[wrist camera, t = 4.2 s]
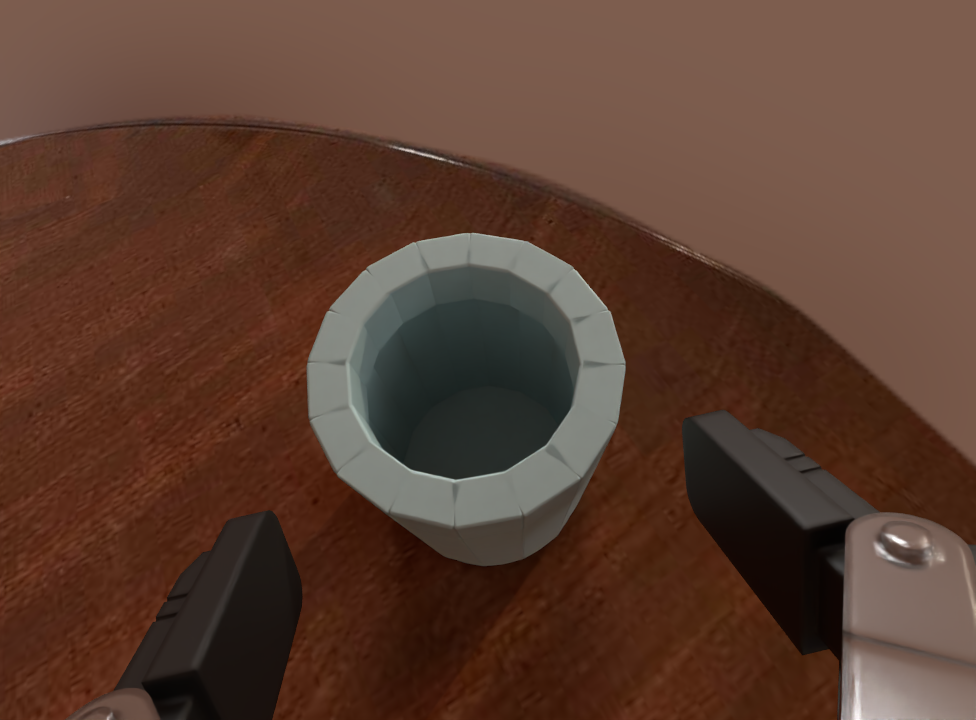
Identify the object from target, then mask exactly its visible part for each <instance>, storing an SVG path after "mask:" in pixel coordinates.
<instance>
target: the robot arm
mask: <svg viewBox="0 0 976 720" xmlns="http://www.w3.org/2000/svg"><path fill="white" fill-rule="evenodd" d="M682 434H683V448H684V461H685V475H686V487H687V493H688V497H689V500H690V503H691V506H692V508H693V511H694V513H695V514H696V516H697V518H698V519H699V521H700V522H701V523H702V525H703V526H704V527H705V528H706V530H707V531H708V532H709V534H710V535H711V536H712V538H713V539H714V540H715V542H716V543H717V544H718V545H719V547H720V548H721V549H722V551H723V552H724V553H725V555H726V556H727V557H728V559H729V560H730V561H731V563H732V564H733V565H734V566H735V568H736V569H737V570H738V572H739V573H740V574H741V576H742V577H743V578H744V580H745V581H746V582H747V584H748V585H749V586H750V587H751V589H752V590H753V591H754V593H755V594H756V595H757V597H758V598H759V599H760V601H761V602H762V603H763V604H764V606H765V607H766V608H767V610H768V611H769V612H770V614H771V615H772V616H773V618H774V619H775V620H776V622H777V623H778V624H779V625H780V627H781V628H782V629H783V631H784V632H785V633H786V635H787V636H788V637H789V639H790V640H791V641H792V642H793V644H794V645H795V646H796V648H797V649H798V650H799V652H800V653H801V654H802V655H806V654H810V653H814V652H818V651H822V650H826V649H830V650H831V651H832V653H833V654H834V655H835V656H836V657H837V659H838V660H839V682H838V712H837V720H976V545H967V544H966V543H965V542H964V541H963V540H962V539H961V538H960V537H959V536H957V535H956V534H955V533H953V532H952V531H950V530H948V529H947V528H945V527H943V526H941V525H939V524H937V523H935V522H932V521H929V520H927V519H924V518H920V517H916V516H912V515H907V514H901V513H880V512H879V511H878V510H876V509H875V508H874V507H872V506H871V505H870V504H869V503H867V502H866V501H865V500H863V499H862V498H861V497H860V496H858V495H857V494H856V493H854V492H853V491H852V490H851V489H849V488H848V487H847V486H845V485H844V484H843V483H842V482H840V481H839V480H838V479H836V478H835V477H834V476H833V475H831V474H830V473H829V472H827V471H826V470H822V469H821V466H820V465H818V464H817V463H816V462H814V461H813V460H812V459H811V458H809V457H805V454H804V453H803V452H802V451H800V450H799V449H798V448H796V447H795V446H794V445H793V444H791V443H790V442H789V441H787V440H786V439H785V438H782V437H779V436H777V435H774V434H772V433H769V432H766V431H764V430H761V429H759V428H758V429H753V430H749V429H748V428H746V427H745V426H744V425H743V424H742V423H740V422H739V421H738V420H737V419H736V418H734V417H733V416H732V415H731V414H730V413H728V412H727V411H725V410H720V411H715V412H711V413H706V414H702V415H698V416H693V417H689V418H685V419H684V421H683V425H682ZM301 608H302V585H301V579H300V575H299V573H298V570H297V567H296V565H295V562H294V559H293V557H292V554H291V552H290V549H289V547H288V544H287V541H286V539H285V536H284V534H283V531H282V528H281V526H280V523H279V521H278V518H277V517H276V515H275V514H274V513H273V512H272V511H270V510H268V511H264V512H259V513H255V514H250V515H246V516H241V517H237V518H232V519H229V520H228V521H227V522H226V524H225V525H224V527H223V529H222V531H221V533H220V535H219V536H218V538H217V540H216V542H215V544H214V546H213V548H212V550H211V551H207V552H203V553H202V554H201V555H200V556H199V557H198V558H197V559H196V560H195V561H194V562H193V563H192V564H191V565H190V566H189V567H188V568H187V569H186V570H185V571H184V572H182V573H181V574H180V576H179V578H178V580H177V581H176V583H175V585H174V586H173V588H172V590H171V592H170V593H169V595H168V597H167V602H164V604H163V606H162V607H161V609H160V611H159V613H158V614H157V616H156V622H153V623H152V625H151V626H150V628H149V630H148V632H147V633H146V635H145V637H144V639H143V640H142V642H141V644H140V646H139V647H138V649H137V651H136V653H135V654H134V656H133V658H132V660H131V661H130V663H129V665H128V666H127V668H126V670H125V672H124V673H123V675H122V677H121V679H120V680H119V682H118V684H117V686H116V687H115V689H114V691H112V692H110V693H107V694H104V695H102V696H100V697H98V698H96V699H94V700H92V701H91V702H89V703H87V704H86V705H84V706H83V707H81V708H80V709H78V710H77V711H75V712H74V713H73V714H72V715H70V716H69V717H68V718H67V719H65V720H272V718H273V714H274V710H275V707H276V703H277V699H278V695H279V692H280V688H281V684H282V680H283V676H284V673H285V669H286V665H287V661H288V658H289V654H290V650H291V646H292V642H293V639H294V635H295V631H296V627H297V623H298V620H299V616H300V612H301Z"/></svg>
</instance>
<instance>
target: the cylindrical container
mask: <svg viewBox="0 0 976 720" xmlns="http://www.w3.org/2000/svg"><path fill="white" fill-rule="evenodd" d="M625 369H626V368H625V360H624V357H623V353H622V350H621V346H620V343H619V340H618V336H617V333H616V329H615V326H614V322H613V319H612V316H611V312H610V311H608V309H607V307H606V306H605V305H604V304H603V302H602V301H601V300H600V299H599V298H598V296H597V295H596V294H595V293H594V292H593V290H592V289H591V288H590V287H589V286H588V284H587V283H586V282H585V281H584V280H583V278H582V277H581V276H580V275H579V274H578V272H577V271H576V270H574V269H573V267H572V266H571V265H569V264H567V263H565V262H564V261H562V260H560V259H558V258H556V257H554V256H553V255H551V254H549V253H547V252H545V251H543V250H542V249H540V248H538V247H536V246H534V245H532V244H531V243H529V242H527V241H525V242H524V241H521V240H515V239H509V238H502V237H496V236H489V235H483V234H477V233H471V234H469V233H464V234H458V235H452V236H447V237H441V238H435V239H429V240H423V241H418V242H416V243H411V244H409V245H408V246H406V247H404V248H402V249H400V250H398V251H396V252H394V253H393V254H391V255H389V256H387V257H385V258H383V259H381V260H380V261H378V262H376V263H374V264H372V265H370V266H368V267H367V268H366V271H363V272H362V273H361V274H360V275H359V276H358V278H357V279H356V280H355V281H354V282H353V283H352V284H351V285H350V286H349V287H348V288H347V290H346V291H345V292H344V293H343V294H342V295H341V296H340V297H339V298H338V299H337V300H336V302H335V303H334V304H333V305H332V306H331V307H330V309H329V311H328V312H327V313H326V315H325V317H324V320H323V322H322V325H321V328H320V330H319V333H318V335H317V338H316V340H315V343H314V345H313V348H312V351H311V353H310V356H309V358H308V364H307V392H308V418H309V420H310V425H311V427H312V429H313V431H314V433H315V435H316V437H317V439H318V441H319V443H320V445H321V447H322V449H323V451H324V453H325V455H326V457H327V459H328V461H329V463H330V465H331V467H332V469H333V471H334V472H335V473H336V474H337V476H338V477H339V478H340V479H341V480H342V481H344V482H345V483H346V484H348V485H349V486H350V487H351V488H353V489H354V490H355V491H357V492H358V493H359V494H361V495H362V496H363V497H364V498H366V499H367V500H368V501H370V502H371V503H372V504H374V505H375V506H376V507H377V508H379V509H380V510H381V511H383V512H384V513H385V514H387V515H388V516H389V517H391V518H392V519H393V520H395V521H396V522H397V523H399V524H400V525H402V526H403V527H404V528H406V529H407V530H408V531H410V532H411V533H412V534H414V535H415V536H417V537H418V538H419V539H421V540H422V541H423V542H425V543H426V544H427V545H429V546H430V547H432V548H433V549H434V550H436V551H437V552H438V553H440V554H441V555H443V556H445V557H446V558H450V559H454V560H457V561H461V562H464V563H468V564H474V565H479V566H492V565H501V564H507V563H511V562H515V561H518V560H522V559H524V558H526V557H528V556H530V555H531V554H533V553H535V552H537V551H538V550H540V549H541V548H542V547H544V546H545V545H546V544H548V543H549V542H550V541H551V540H553V539H554V538H556V536H558V534H559V533H560V531H561V529H562V528H563V526H564V525H565V524H566V522H567V520H568V519H569V517H570V515H571V514H572V512H573V511H574V509H575V508H576V506H577V504H578V502H579V500H580V498H581V496H582V494H583V492H584V490H585V488H586V486H587V484H588V482H589V480H590V478H591V476H592V474H593V472H594V470H595V468H596V466H597V464H598V462H599V460H600V458H601V456H602V454H603V452H604V450H605V448H606V446H607V444H608V442H609V440H610V438H611V436H612V434H613V432H614V430H615V428H616V425H617V423H618V417H619V410H620V403H621V396H622V390H623V383H624V376H625Z"/></svg>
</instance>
